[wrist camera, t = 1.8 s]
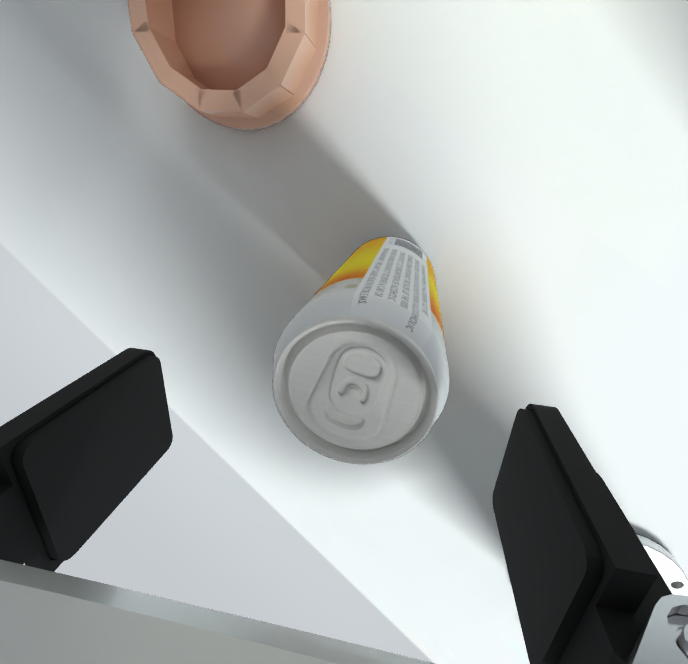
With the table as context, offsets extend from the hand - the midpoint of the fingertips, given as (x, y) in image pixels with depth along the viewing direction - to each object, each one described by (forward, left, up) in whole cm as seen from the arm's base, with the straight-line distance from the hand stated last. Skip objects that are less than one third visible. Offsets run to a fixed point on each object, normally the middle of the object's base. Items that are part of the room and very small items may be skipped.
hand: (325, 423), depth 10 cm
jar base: (+14, +10, -17) cm, 24 cm away
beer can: (0, 0, -17) cm, 17 cm away
